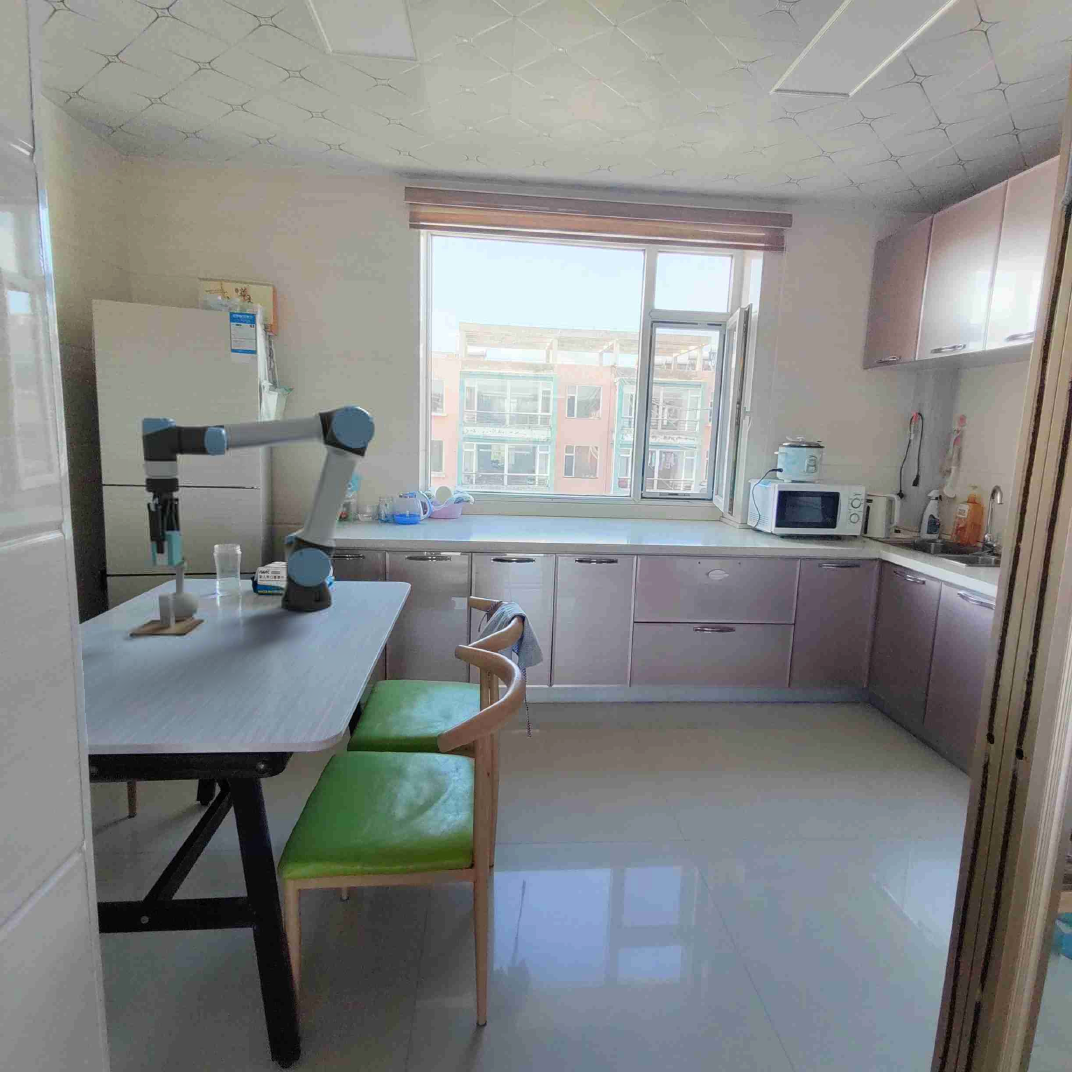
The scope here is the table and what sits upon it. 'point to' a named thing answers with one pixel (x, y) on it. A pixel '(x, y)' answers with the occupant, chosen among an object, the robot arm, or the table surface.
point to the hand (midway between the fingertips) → (167, 562)
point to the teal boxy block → (170, 548)
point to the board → (155, 628)
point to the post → (166, 610)
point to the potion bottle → (183, 595)
